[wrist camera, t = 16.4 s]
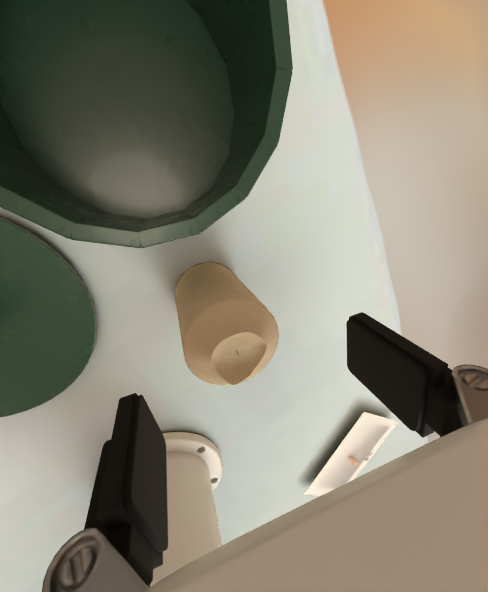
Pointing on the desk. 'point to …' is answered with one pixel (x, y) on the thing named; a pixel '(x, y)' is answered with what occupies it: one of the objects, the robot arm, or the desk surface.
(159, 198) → the tin
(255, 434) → the desk surface
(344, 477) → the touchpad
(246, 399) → the desk surface
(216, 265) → the candle
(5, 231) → the tin lid
